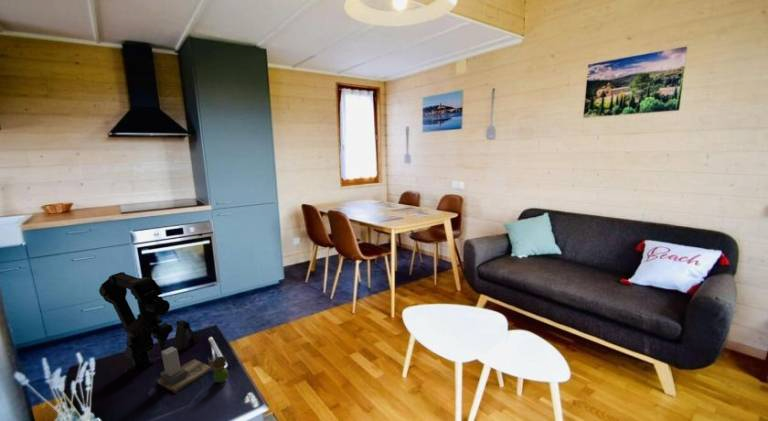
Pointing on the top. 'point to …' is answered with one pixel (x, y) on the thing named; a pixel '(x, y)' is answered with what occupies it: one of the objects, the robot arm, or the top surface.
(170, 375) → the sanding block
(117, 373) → the top surface
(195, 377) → the oak board
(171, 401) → the top surface
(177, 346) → the door stopper
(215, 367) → the snail figurine
